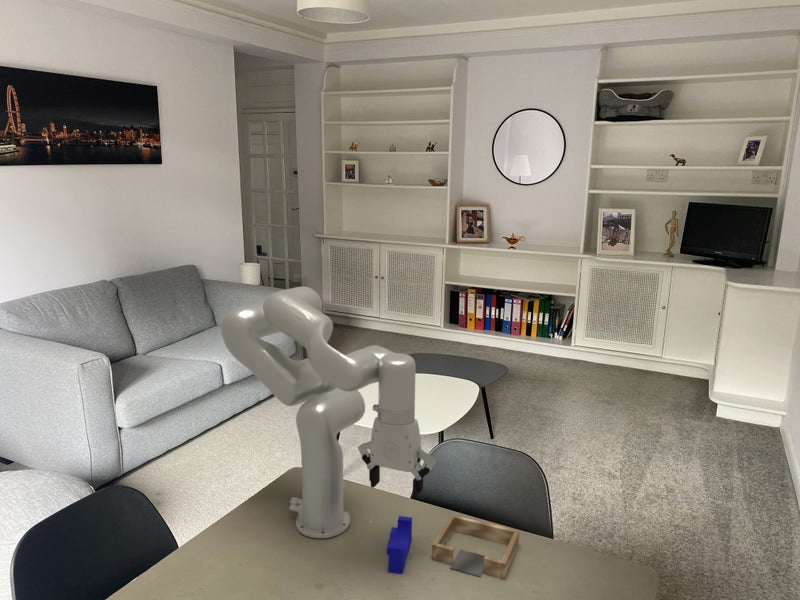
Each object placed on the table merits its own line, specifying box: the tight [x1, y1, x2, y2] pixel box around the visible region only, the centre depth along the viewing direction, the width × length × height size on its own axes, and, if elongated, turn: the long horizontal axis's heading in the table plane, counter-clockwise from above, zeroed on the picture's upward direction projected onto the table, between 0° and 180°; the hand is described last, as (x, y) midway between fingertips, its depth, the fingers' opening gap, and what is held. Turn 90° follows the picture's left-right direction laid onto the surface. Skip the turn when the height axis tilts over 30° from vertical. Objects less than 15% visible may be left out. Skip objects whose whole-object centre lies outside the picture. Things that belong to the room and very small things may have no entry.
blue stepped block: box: [386, 515, 413, 575], centre depth 134 cm, size 12×4×6 cm, turn 170°
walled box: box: [431, 514, 520, 580], centre depth 135 cm, size 16×14×4 cm
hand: (395, 489), depth 131 cm, fingers open, 9 cm apart
